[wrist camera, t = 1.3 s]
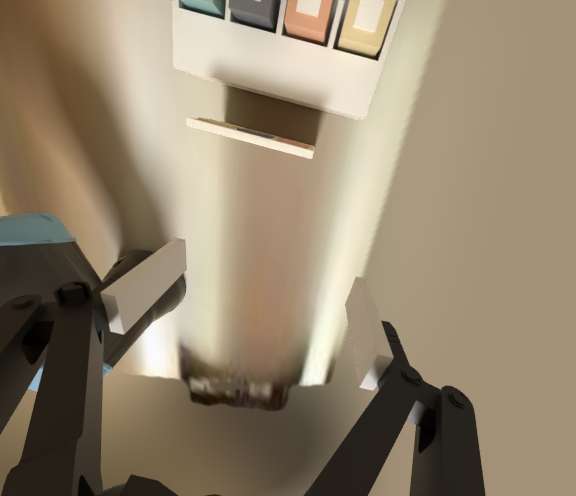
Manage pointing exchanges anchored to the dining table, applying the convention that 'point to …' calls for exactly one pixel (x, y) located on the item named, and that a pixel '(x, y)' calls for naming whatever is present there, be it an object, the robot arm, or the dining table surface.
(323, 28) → the key
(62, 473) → the robot arm
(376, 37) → the key
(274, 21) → the key
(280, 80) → the keypad
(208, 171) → the dining table surface
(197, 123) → the placard
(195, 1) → the key
